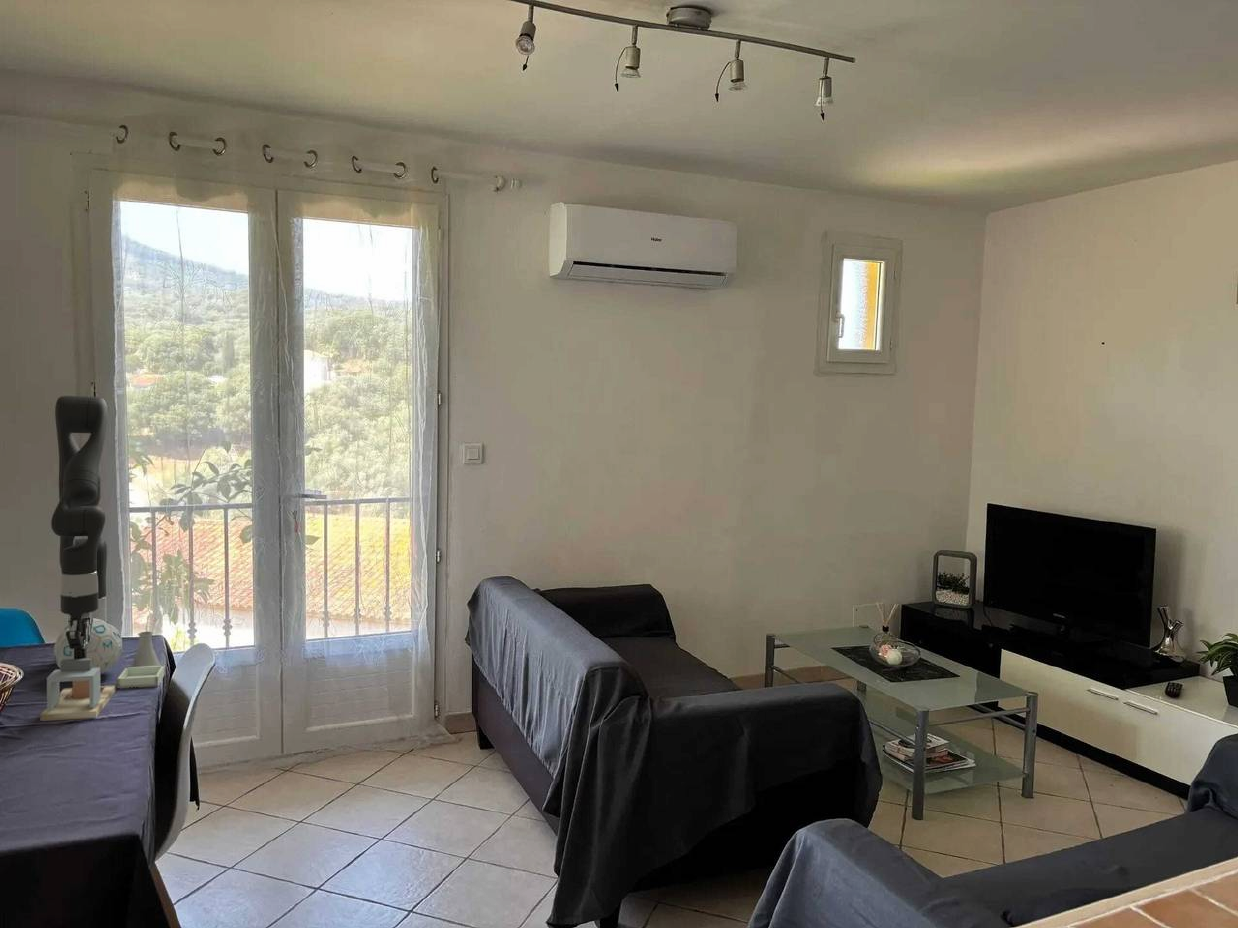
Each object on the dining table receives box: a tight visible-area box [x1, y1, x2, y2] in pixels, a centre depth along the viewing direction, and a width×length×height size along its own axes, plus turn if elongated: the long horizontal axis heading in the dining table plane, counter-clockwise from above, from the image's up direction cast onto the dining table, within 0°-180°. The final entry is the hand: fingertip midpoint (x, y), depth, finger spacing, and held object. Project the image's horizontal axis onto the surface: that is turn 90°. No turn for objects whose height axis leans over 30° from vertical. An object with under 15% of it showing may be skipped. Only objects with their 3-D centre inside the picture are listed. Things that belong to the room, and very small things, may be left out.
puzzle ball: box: [53, 618, 123, 676], centre depth 224 cm, size 15×15×15 cm
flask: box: [130, 630, 162, 667], centre depth 231 cm, size 7×7×10 cm
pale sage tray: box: [116, 665, 166, 689], centre depth 222 cm, size 9×9×2 cm
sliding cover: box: [46, 658, 101, 711], centre depth 200 cm, size 6×9×10 cm, turn 107°
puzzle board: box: [39, 685, 116, 722], centre depth 205 cm, size 18×11×2 cm, turn 17°
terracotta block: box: [72, 680, 89, 699], centre depth 209 cm, size 4×4×7 cm
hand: (80, 663), depth 204 cm, fingers closed
